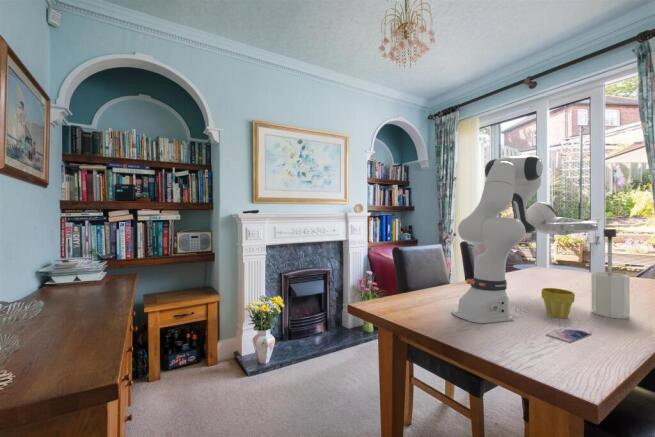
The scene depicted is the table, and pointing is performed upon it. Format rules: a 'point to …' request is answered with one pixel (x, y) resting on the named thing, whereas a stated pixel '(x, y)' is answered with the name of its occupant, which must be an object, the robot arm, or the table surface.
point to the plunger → (609, 247)
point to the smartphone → (568, 334)
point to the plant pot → (557, 301)
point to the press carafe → (610, 295)
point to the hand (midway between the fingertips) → (584, 227)
